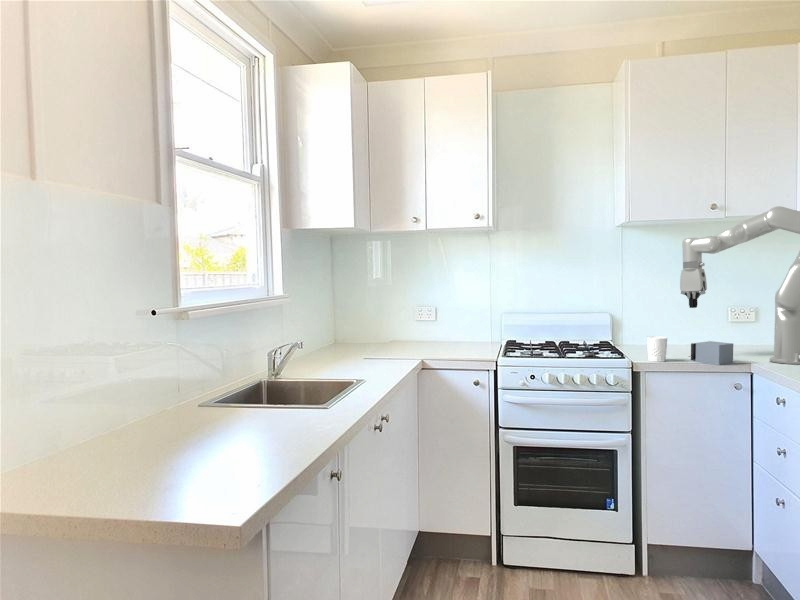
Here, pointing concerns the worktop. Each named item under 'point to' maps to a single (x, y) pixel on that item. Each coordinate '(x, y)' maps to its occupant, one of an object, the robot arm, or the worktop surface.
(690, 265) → the robot arm
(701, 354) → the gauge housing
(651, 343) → the white cup
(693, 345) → the plunger
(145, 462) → the worktop surface
